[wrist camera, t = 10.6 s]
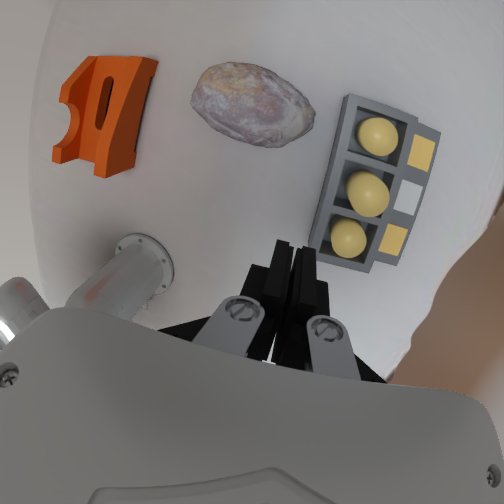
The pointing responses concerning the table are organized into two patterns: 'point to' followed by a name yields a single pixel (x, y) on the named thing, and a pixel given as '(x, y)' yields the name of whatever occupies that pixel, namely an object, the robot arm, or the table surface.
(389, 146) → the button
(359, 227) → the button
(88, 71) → the tape dispenser
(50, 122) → the table surface
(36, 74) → the table surface
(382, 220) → the grey compartment tray
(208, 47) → the table surface
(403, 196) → the strip
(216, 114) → the stone
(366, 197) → the button mid
